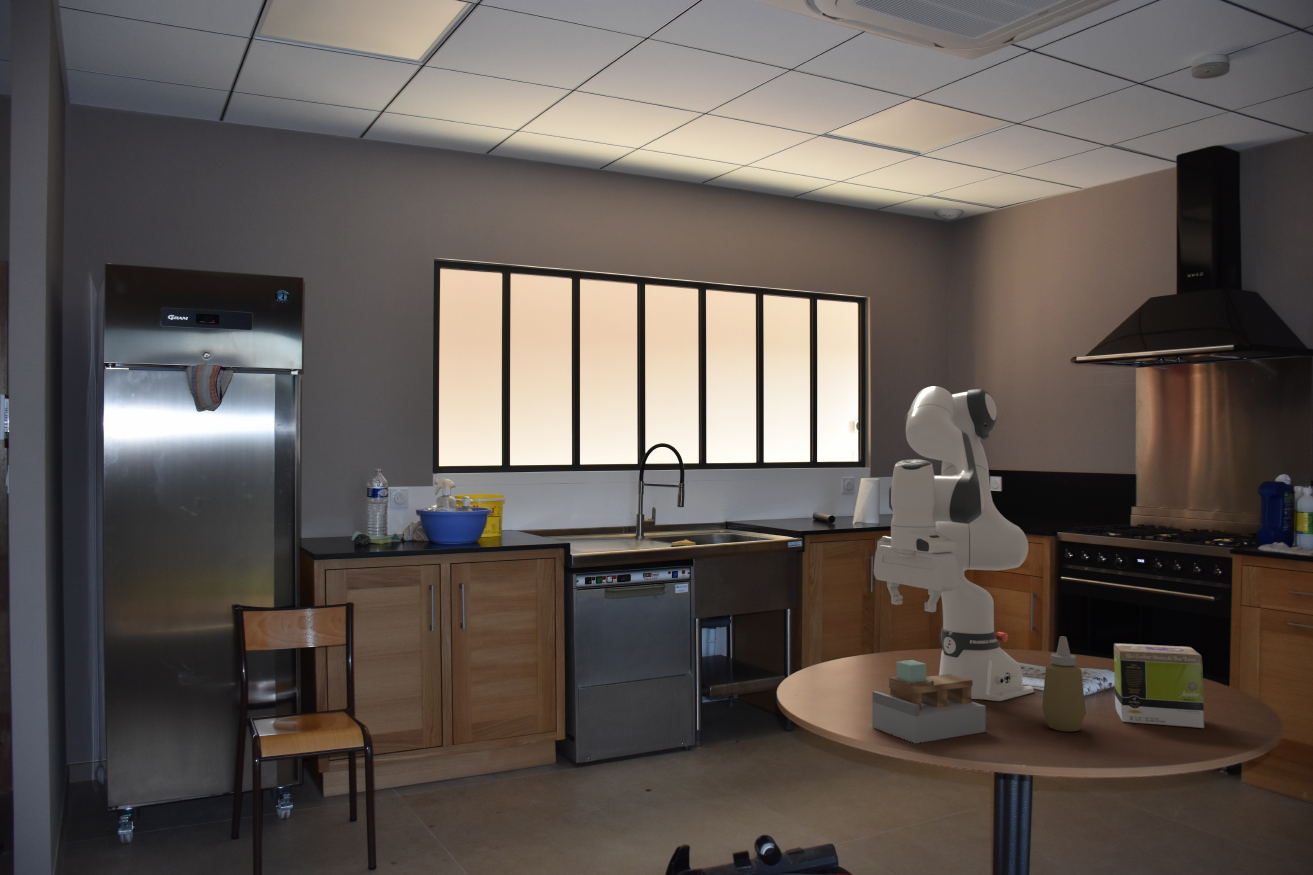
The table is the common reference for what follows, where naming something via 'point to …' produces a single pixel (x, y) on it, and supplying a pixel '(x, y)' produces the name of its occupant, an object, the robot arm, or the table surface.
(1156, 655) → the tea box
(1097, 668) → the table surface
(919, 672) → the mint green cube
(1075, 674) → the squeeze bottle
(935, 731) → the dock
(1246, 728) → the table surface
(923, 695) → the pallet
